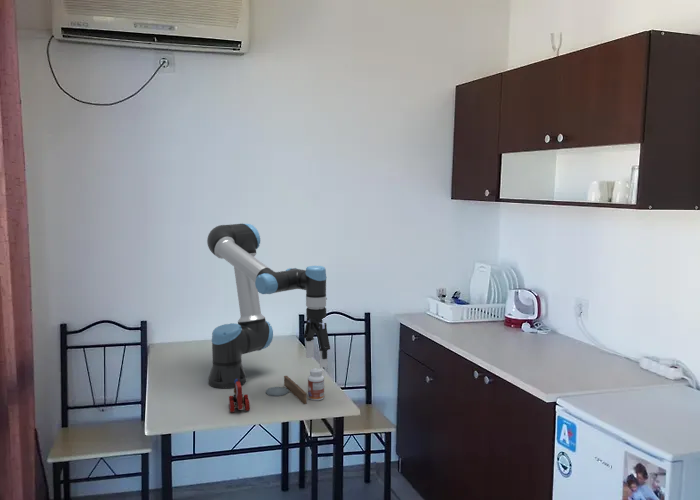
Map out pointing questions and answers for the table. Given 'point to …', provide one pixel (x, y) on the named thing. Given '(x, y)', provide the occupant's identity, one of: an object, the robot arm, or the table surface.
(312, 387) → the pill bottle
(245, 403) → the toy fire truck
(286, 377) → the divider rail
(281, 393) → the slate pad
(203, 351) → the table surface
